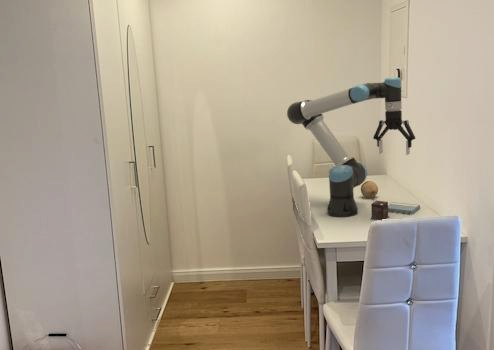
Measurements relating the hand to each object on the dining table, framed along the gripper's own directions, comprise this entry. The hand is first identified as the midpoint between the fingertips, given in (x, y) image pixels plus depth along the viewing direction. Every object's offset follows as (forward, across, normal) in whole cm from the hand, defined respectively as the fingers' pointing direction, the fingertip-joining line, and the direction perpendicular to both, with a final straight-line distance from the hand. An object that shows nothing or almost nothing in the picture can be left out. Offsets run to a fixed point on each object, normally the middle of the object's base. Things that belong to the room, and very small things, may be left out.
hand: (394, 153), depth 238 cm
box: (+28, -2, -15) cm, 32 cm away
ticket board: (+29, +3, +2) cm, 29 cm away
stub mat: (+29, -2, -15) cm, 32 cm away
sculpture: (+29, -21, +18) cm, 40 cm away
